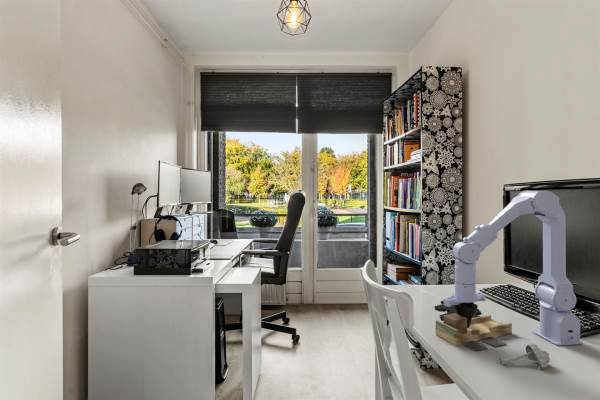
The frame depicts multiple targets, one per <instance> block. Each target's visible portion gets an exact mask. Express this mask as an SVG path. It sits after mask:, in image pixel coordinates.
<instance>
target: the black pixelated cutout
mask: <svg viewBox="0 0 600 400" xmlns="http://www.w3.org/2000/svg"><path fill="white" fill-rule="evenodd" d="M440 303H441V304H437V305H434V310H435V311H438V312H444V313H441V314H439V318H440V321H444V315H448V314H454V313H456V314H457V311H456V309H455V308H454V306H453V305H452V306H451V307H447V306H445V305H444V299H443V300H441V301H440ZM445 312H446V313H445ZM481 315H482V312H481V310H480V309H479V308H477V310H476V311H475V313H474V315H473V317H472V318H475V317H481Z"/></svg>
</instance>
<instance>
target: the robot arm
mask: <svg viewBox="0 0 600 400" xmlns="http://www.w3.org/2000/svg"><path fill="white" fill-rule="evenodd" d="M524 215H534V216H535V217H537V218H538V219H539V220H540V221H541V222H542V273H541V274H540V276H538V278H537V284H536V286H535V289H534V293H535V296H536V297H537V299H538V300H539V301H538V302H539V329H536V330H534V329H533V330H532V333H534V334H535V335H537V336H539V337H541V338H543V339H544V340H547V341H548V342H551V343H552V344H553V345H555V346H569V345H570V346H571V345H582V344H583V341H581V321H580V319H579V317H578V316H576V315H575V314H574V313H573V312H572V309H574V308H575V306H576V304H577V297H576V294H575V292H574V286H573V284H572V283H571V281H570V280H569V279H568V277H567V271H566V270H567V267H566V266H567V259H566V258H567V256H566V255H567V252H566V251H567V246H566V245H567V241H566V239H567V237H566V236H567V234H566V233H567V232H566V230H567V228H566V227H567V225H566V224H567V219H566V216H567V215H566V213H565V212H564V209H563V208H562V206H561V204H560V197H559V196H558V195H556V194H554V193H553V192H551V191H550V190H544V189H543V190H530V189H529V190H523V191H521V192H520V193H518V194H517V195H516V196H515V197H512V199H511V200H510V202H509V203H508V204H507V205H506V206H505V207H504V208H503V209H502V210H500V212H499V213H498V214H497V215H496V216H495V217H493V219H492V220H490V222H489V223H487V224H485V223H484V224H480V225H476V226H475V227H474V230H473V231H472V232H471V233H470V234H469V235H468V236H467V237H466V236H464V237H463V238H462V241H458V242H456V243H455V244H454V245H453V248H452V249H451V250H450V251H451V254H452V256H453V258H454V293H452V295H451V296H449V297H446V298H443V300H444V304H443V305H445V306H447V307H451V306H452V305H453V306H454V308H455V309H456V311H457V314H458V315H461V316H463V317H465V318H467V328H469V326H470V323H471V320H472V317H473V315H474V313H475V311H476V310H477V309H479V306H478V304H476V302H477V303H478V302H486V300H487V295H486V294H484V293H477V291H476V289H477V286H476V283H477V282H476V278H477V277H476V275H477V274H476V270H477V268H476V264H477V263H476V261H477V262H478V260H479V258H480V256H481V253H482V252H483V251H484V250H485V249H486V248H487V247H490V245H491V244H492V243H494V242H495V241H496V240H497V239H498V233H499V231H500V232H501V230H502V229H504V228H505V227H507V226H508V225H509V224H510V223H512V222H513V221H514V220H516V219H518V217H519V216H524Z"/></svg>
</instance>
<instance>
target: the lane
mask: <svg viewBox="0 0 600 400" xmlns="http://www.w3.org/2000/svg"><path fill="white" fill-rule="evenodd" d="M480 316H481V315H480ZM512 334H513V323H511V322H506V323H502V322H499V321H497V320H494V319H492V315H491V314H487V315H482V316H481V317H475V318H472V320H471V323H470V326H469V328H467V333H466V334H461V333H458V330H457V329H455V328H453V327H451V326H449V325H447V324H445V323H444V321H441V320H438V319H437V320H435V336H438V337H440V338H441V339H444V340H445V341H447V342H449V343H451V344H452V345H454V346H459V345H462V346H464V347H466V348H468V349H469V350H471V351H474V352H476V353H477V352H481V351H484V350H488V349H489V347H487V346H485V345H483V344H481V343H480V342H477V341H481V342H483V343H485V344H487V345H489V346H492V347H493V348H498V347H499V348H500V347H502V346H507V343H506V342H504V341H502V340H500V339H497V338H498V337H502V336H505V335H512Z"/></svg>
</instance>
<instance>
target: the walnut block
mask: <svg viewBox="0 0 600 400" xmlns="http://www.w3.org/2000/svg"><path fill="white" fill-rule="evenodd" d="M443 323H445V324H447V325H449V326H451V327H453V328H455V329H457V330H458V333H461V334H466V333H467V318H465V317H463V316H461V315H458V314H456V313H454V314H448V315H444V320H443Z"/></svg>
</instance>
